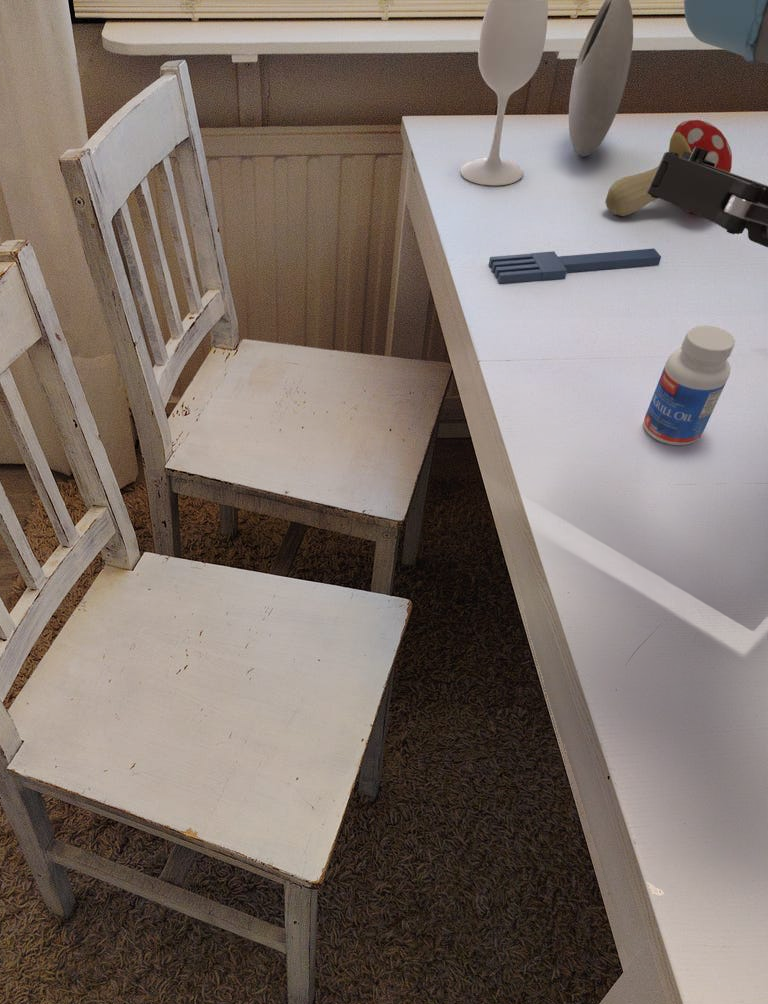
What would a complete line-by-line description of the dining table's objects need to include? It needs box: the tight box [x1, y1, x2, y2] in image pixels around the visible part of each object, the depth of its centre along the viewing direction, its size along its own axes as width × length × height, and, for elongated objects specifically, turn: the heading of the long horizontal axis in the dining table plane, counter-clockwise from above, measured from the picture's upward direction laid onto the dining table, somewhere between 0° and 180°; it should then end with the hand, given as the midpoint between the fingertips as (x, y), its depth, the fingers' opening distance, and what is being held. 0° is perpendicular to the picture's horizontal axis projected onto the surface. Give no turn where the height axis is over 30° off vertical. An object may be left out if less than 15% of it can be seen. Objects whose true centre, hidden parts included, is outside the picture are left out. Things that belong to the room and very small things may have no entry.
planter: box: [568, 0, 634, 157], centre depth 113 cm, size 18×7×19 cm, turn 165°
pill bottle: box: [643, 324, 736, 446], centre depth 75 cm, size 6×5×10 cm
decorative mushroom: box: [605, 119, 733, 217], centre depth 104 cm, size 11×11×15 cm
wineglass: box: [460, 0, 549, 186], centre depth 108 cm, size 9×9×21 cm
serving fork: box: [488, 248, 662, 284], centre depth 98 cm, size 20×5×1 cm, turn 97°
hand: (767, 199), depth 61 cm, fingers open, 13 cm apart
